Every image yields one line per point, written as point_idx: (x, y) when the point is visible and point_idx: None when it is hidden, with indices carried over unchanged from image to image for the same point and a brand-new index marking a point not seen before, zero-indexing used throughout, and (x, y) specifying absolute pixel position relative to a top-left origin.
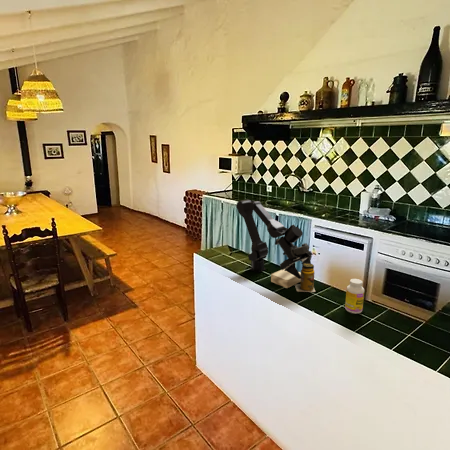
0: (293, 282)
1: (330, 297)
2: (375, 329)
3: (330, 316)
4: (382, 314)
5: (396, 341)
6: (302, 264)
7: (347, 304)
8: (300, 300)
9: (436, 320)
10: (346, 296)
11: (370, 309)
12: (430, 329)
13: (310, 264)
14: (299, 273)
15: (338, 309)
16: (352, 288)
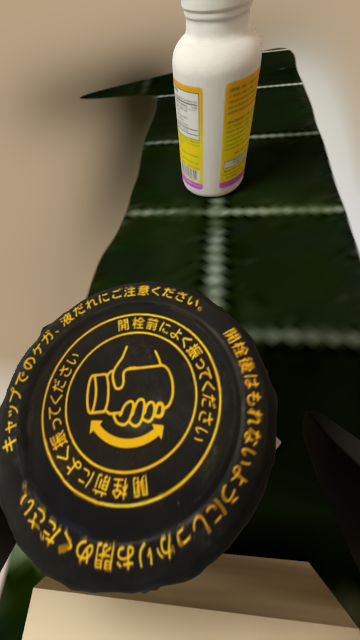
0: (214, 568)
1: (185, 268)
2: (263, 118)
3: (324, 195)
4: (172, 138)
5: (269, 89)
6: (188, 578)
7: (245, 153)
8: (349, 346)
9: (116, 93)
10: (245, 121)
11: (167, 161)
12: (164, 86)
13: (62, 374)
14: (61, 627)
15: (253, 204)
16: (252, 27)
